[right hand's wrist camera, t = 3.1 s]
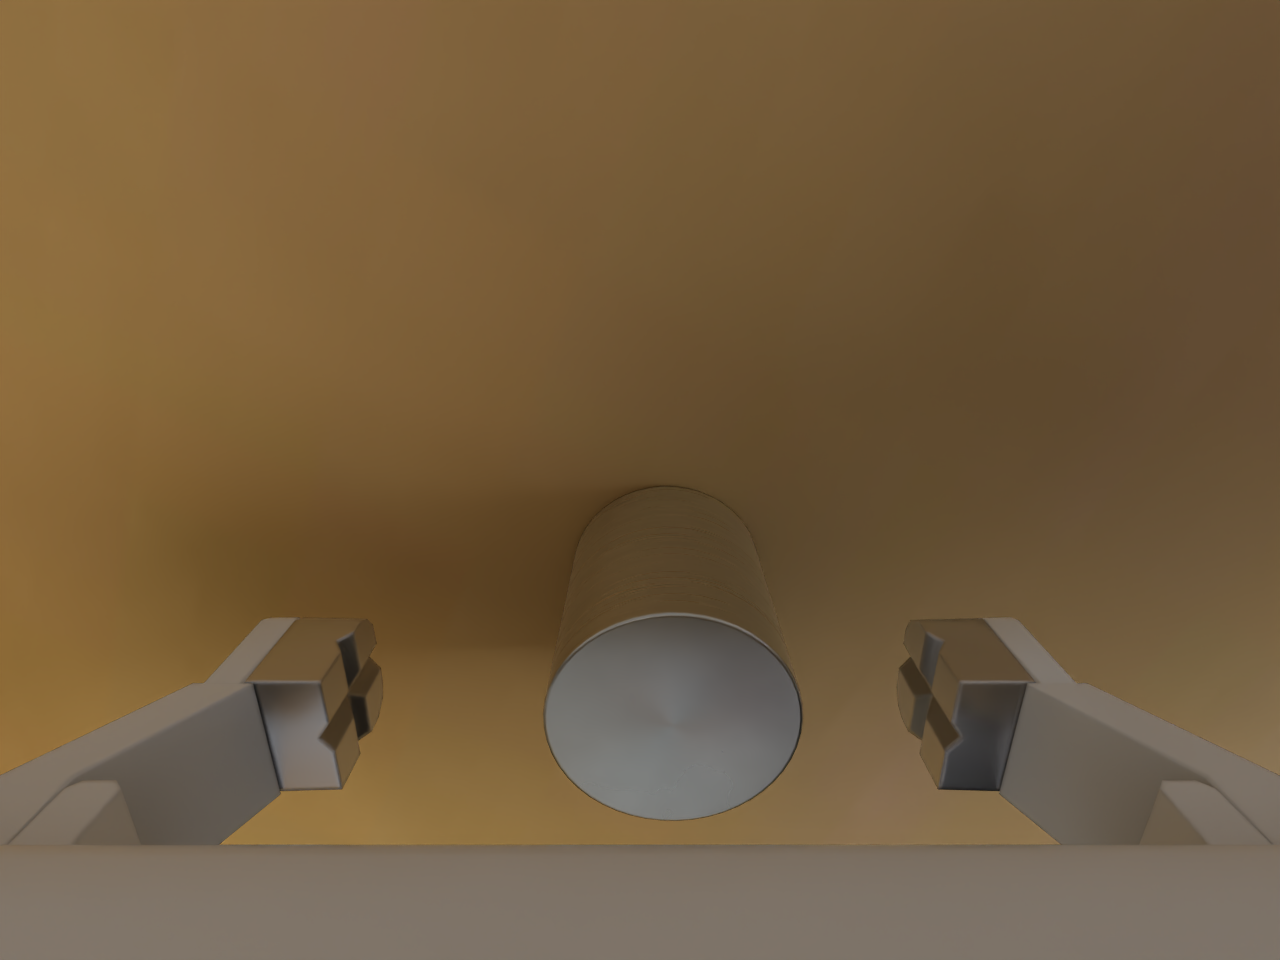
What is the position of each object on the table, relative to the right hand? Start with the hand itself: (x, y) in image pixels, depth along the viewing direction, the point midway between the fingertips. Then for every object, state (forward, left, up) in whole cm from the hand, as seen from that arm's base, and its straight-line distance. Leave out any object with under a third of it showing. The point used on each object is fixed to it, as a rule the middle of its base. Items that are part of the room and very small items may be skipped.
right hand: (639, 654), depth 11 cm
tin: (0, 0, -3) cm, 3 cm away
